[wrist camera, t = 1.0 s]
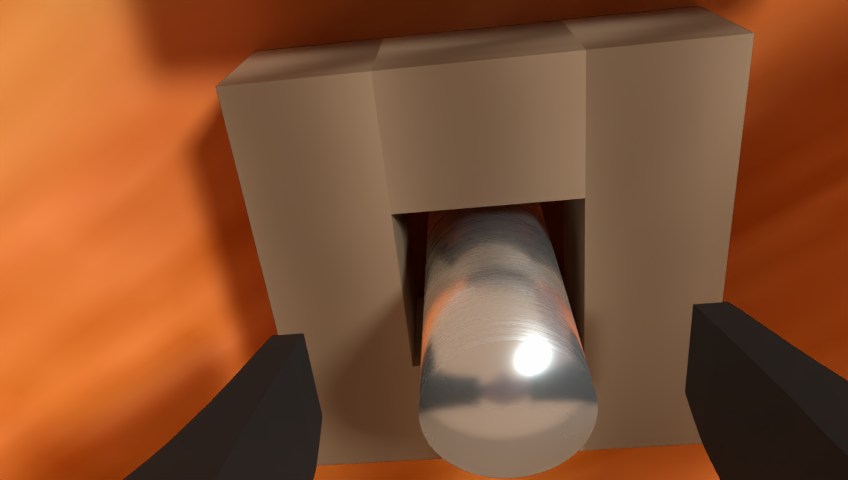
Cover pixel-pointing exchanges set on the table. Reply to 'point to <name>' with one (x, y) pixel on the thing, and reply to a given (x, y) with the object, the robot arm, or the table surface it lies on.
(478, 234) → the metal peg
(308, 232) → the socket block
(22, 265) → the table surface
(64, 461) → the table surface
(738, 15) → the table surface
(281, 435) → the robot arm
